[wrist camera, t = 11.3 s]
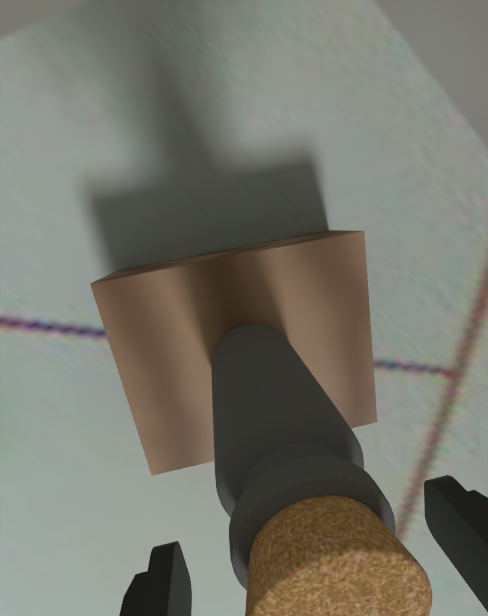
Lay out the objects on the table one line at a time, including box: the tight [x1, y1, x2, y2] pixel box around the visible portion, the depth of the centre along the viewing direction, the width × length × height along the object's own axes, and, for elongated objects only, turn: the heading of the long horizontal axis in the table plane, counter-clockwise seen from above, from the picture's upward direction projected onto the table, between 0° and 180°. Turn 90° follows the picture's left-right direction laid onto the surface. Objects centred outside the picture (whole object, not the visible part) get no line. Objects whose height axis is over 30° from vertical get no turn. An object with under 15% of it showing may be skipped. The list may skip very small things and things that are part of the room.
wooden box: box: [90, 230, 377, 475], centre depth 25 cm, size 18×15×6 cm
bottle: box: [212, 323, 432, 616], centre depth 14 cm, size 6×6×15 cm
